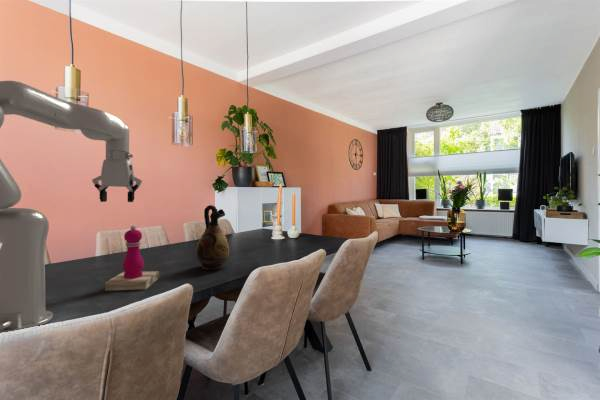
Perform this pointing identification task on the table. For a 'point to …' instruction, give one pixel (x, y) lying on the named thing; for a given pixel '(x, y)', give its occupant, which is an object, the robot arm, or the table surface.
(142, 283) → the birch stand
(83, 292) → the table surface
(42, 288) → the robot arm
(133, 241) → the pepper mill
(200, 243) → the ceramic jug
